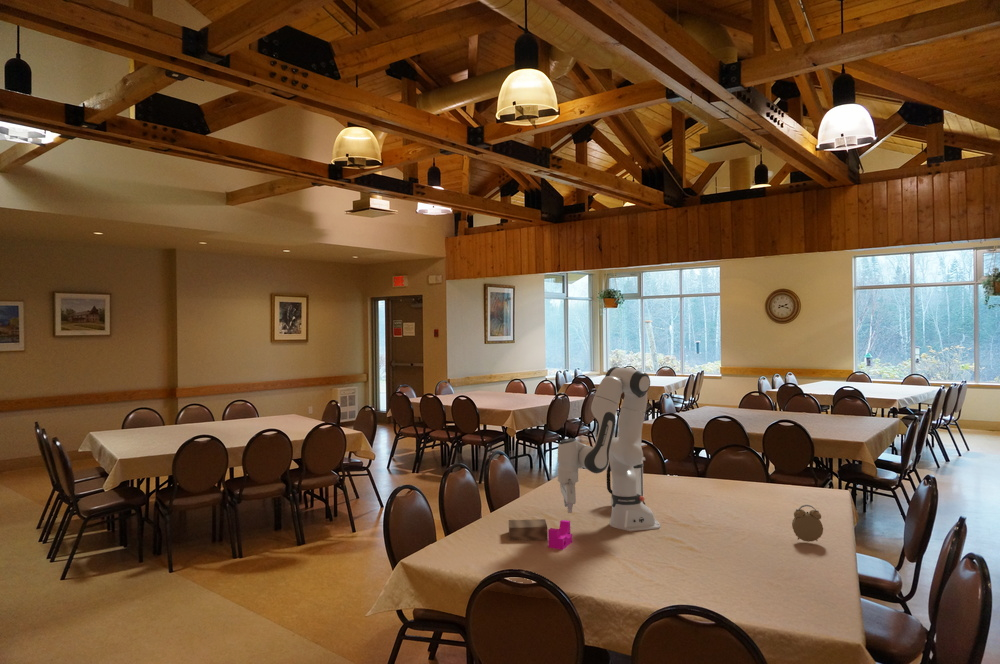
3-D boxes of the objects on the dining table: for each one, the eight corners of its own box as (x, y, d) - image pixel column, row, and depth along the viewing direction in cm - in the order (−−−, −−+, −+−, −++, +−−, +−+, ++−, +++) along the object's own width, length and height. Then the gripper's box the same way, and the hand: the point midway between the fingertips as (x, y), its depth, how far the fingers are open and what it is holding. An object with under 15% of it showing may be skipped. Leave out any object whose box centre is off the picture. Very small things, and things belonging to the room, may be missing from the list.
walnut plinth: (545, 533, 272) (545, 519, 272) (547, 541, 261) (547, 526, 261) (508, 533, 272) (508, 520, 272) (509, 542, 261) (509, 527, 261)
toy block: (562, 550, 249) (562, 531, 249) (548, 548, 252) (548, 529, 252) (575, 539, 262) (575, 521, 263) (562, 537, 265) (561, 519, 265)
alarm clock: (821, 540, 256) (821, 504, 256) (824, 544, 251) (823, 507, 251) (792, 538, 259) (791, 502, 259) (793, 541, 255) (793, 505, 255)
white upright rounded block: (625, 498, 327) (624, 441, 327) (652, 503, 316) (651, 444, 316) (606, 504, 315) (605, 445, 315) (633, 510, 303) (632, 449, 304)
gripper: (579, 482, 255) (579, 516, 255) (571, 471, 275) (572, 503, 275) (564, 482, 255) (564, 516, 254) (557, 472, 275) (557, 503, 275)
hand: (568, 509), depth 265 cm, fingers open, 8 cm apart
